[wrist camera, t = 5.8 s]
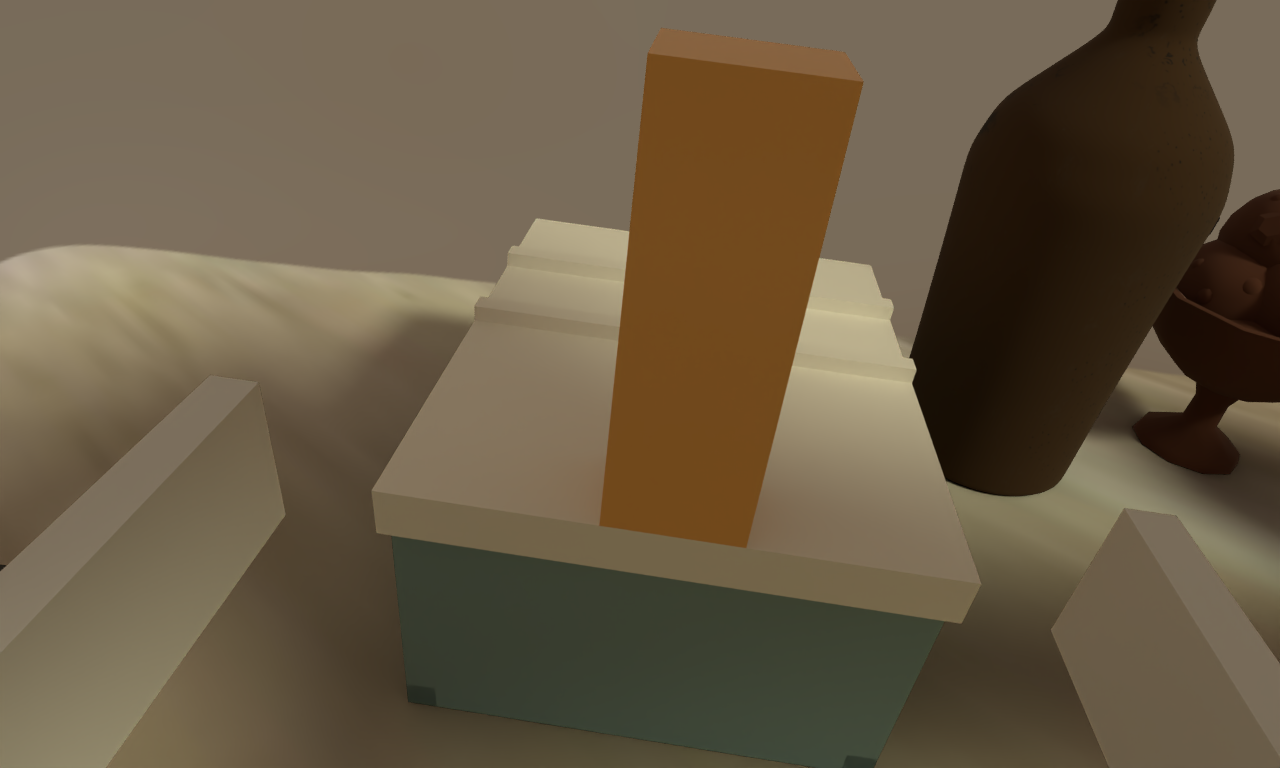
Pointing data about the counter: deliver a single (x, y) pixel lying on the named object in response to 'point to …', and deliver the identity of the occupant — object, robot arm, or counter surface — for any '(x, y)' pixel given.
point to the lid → (698, 369)
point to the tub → (654, 656)
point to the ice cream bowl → (1222, 337)
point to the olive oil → (1068, 246)
